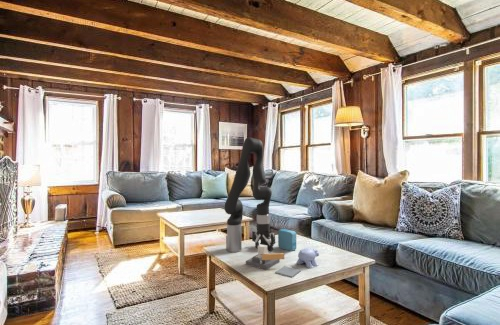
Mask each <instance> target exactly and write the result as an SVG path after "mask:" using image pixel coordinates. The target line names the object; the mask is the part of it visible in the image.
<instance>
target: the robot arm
mask: <svg viewBox="0 0 500 325" xmlns="http://www.w3.org/2000/svg"><path fill="white" fill-rule="evenodd" d="M263 145H264V144H263V142H262V140H261V139H258V138H255V137H250V136H249V137H246V138H245V140H244V142H243V143H242V148H241V153H240V158H239V161H238V165H237V168H236V171H235V175H234V178H233V182H232V185H231V187H230V191H229V193H228V194H227V195H228V196H227V198H226V201H225V204H224V212H225V214H227V215H229V217H228V218H227V220H226V224H227V225H226V233H227V234H226V236H225V244H226V245H225V250H226V251H227V252H230V253H238V252H241V251H242V249H243V248H242V221H243V213H244V212H243V211H244V210H243V209H244V207H243V202H242V201H241V200H240V199H239V198H240V196H241V195H242V193H243V191H244V190H245V188H246V187H247V186H248V183H249V180H250V178H251V169H250V166H249V156H250V154H254V155H255V162H254V165H253V167H252V177H253V193H252V196H253V198H254V199H255V200H256V201H258V200H259V201H261V200H263V201H262V202H260V203H258V204H257V205H256V217H255V218H256V230H253V231H252V232H251V234H252V235H251V241H252V242H254V245H255V246H254V248H255V250H258V246H259V245H260V241H261V240H266V242H267V243H268V244H269V245H268V248H269V250H268V252H269V253H271V252H272V251H273V250H272V245H273V244H274V245H275V244H276V233H275V232H273V233H272V232H271V233H270V232H269V231H270V227H271V226H270V225H271V220H270V203H271V198H272V195H273V194H272V193H273V192H272V189H271V188H270V187H269V186H263V185H265V184H266V183H267V178H266V172H265V167H264V146H263ZM261 186H262V187H261ZM269 236H270V237H271V239H270V237H269Z"/></svg>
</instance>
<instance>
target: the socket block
mask: <svg viewBox="0 0 500 325" xmlns="http://www.w3.org/2000/svg"><path fill="white" fill-rule="evenodd" d="M256 256H258V253H257V254H255V255H254V256H252V257H251V258H249V259H247V260H245V266H250V267H253V268H259V269H262V270H265V271H267V270H269V269H270V268H272V267H274V266H275V265H277V264H279V263H280V260H281V259H277V260H260V258H257V257H256Z"/></svg>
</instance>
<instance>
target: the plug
mask: <svg viewBox="0 0 500 325" xmlns="http://www.w3.org/2000/svg"><path fill="white" fill-rule="evenodd" d="M268 252H269V250H267V245H262V244H259V246H258V249H257V254H258V256H256V257H257V258H260V256H259V254H269V253H268Z"/></svg>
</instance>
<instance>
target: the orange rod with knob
mask: <svg viewBox="0 0 500 325" xmlns="http://www.w3.org/2000/svg"><path fill="white" fill-rule="evenodd" d="M259 256H260V260H277V259H280V260H285V253H284V252H283V253H282V252H281V253H280V252H279V253H277V252H276V253H268V254H259Z"/></svg>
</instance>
